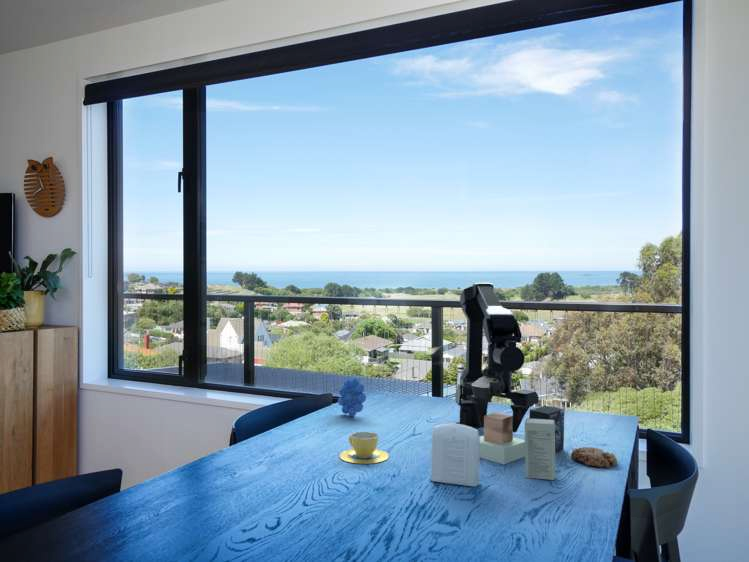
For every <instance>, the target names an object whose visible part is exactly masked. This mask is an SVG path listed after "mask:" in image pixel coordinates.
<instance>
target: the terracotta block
mask: <svg viewBox="0 0 749 562" xmlns="http://www.w3.org/2000/svg"><path fill="white" fill-rule="evenodd" d="M512 422H513V414H506V413H501V412H500V413H499V412H495V411H494V412H492V413H489V414H487V415H485V416H484V426H483V436H484V441H489V442H493V443H498V444H505V443H507V442H509V441H512V440H513V437H514V435H513V433H514V432H513V428H512Z"/></svg>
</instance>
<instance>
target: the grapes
mask: <svg viewBox="0 0 749 562" xmlns="http://www.w3.org/2000/svg"><path fill="white" fill-rule="evenodd" d="M365 388H366V387H365V385H364V384H363V383H361V382H360V381H359V379H358V378H357V377H353V378H351V379H349V378H346V379H345V380H344V382H343V386H340V387H339V389H338V394H339V395H340V397H339V398H338V399H337V403H338V405H339V406H342V407H341V412H342V413H343V414H346V415H347V414H348V415H349V417H355V416H356V415H357V414H358V413H361V412H362V411H363V409H364V404H363V403H365V402H366V401H367V395H366V394H365V393H364V390H365Z"/></svg>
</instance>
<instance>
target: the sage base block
mask: <svg viewBox="0 0 749 562" xmlns="http://www.w3.org/2000/svg"><path fill="white" fill-rule="evenodd" d="M479 438H480V456H479V459H480V458H481V459H484V460H487V461H491V462H494V463H498V464H502V465H506V464H509V463H511V462H513V461H517V460H520V459H522V458H525V439H522V438H517V437H514V436H513V440H512V441H509V442H507V443H505V444H498V443H493V442H489V441H484V435H481V436H479Z"/></svg>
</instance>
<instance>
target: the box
mask: <svg viewBox="0 0 749 562" xmlns="http://www.w3.org/2000/svg"><path fill="white" fill-rule="evenodd" d="M565 412H566V411H565V409H564V408H561V407H556V406H550V405H543V406H539V407H535V408H531V409H530V408H529V417H528V418H531V419H547V420H554V421H555V454H556V453H559V452H562V451H564V450H565V448H564V444H565V439H564V438H565Z"/></svg>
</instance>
